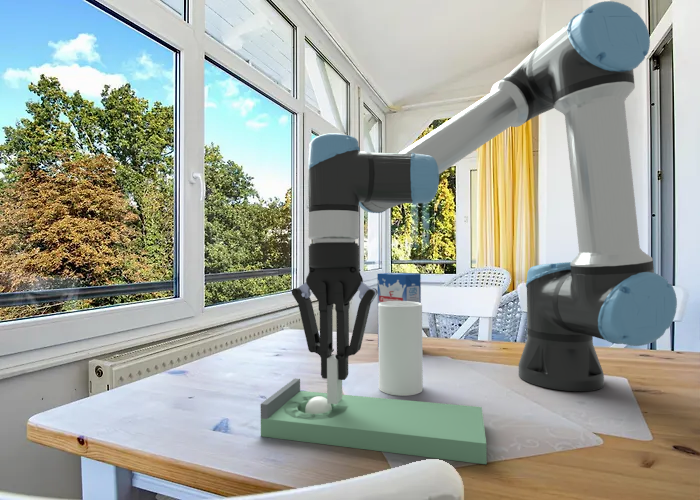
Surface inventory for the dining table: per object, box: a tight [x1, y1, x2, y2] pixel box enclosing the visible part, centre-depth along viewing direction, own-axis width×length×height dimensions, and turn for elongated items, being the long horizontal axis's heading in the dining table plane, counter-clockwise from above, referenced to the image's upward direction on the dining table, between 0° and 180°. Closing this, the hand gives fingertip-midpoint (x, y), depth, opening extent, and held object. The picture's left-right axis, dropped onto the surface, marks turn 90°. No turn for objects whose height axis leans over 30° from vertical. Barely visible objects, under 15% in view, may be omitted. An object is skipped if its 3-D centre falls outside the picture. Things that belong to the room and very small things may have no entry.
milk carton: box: [376, 272, 422, 348], centre depth 109 cm, size 10×6×20 cm, turn 43°
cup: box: [377, 301, 424, 397], centre depth 77 cm, size 8×8×16 cm
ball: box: [305, 396, 332, 414], centre depth 61 cm, size 4×4×4 cm
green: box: [260, 378, 488, 465], centre depth 59 cm, size 30×12×4 cm, turn 75°
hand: (334, 400), depth 60 cm, fingers closed
